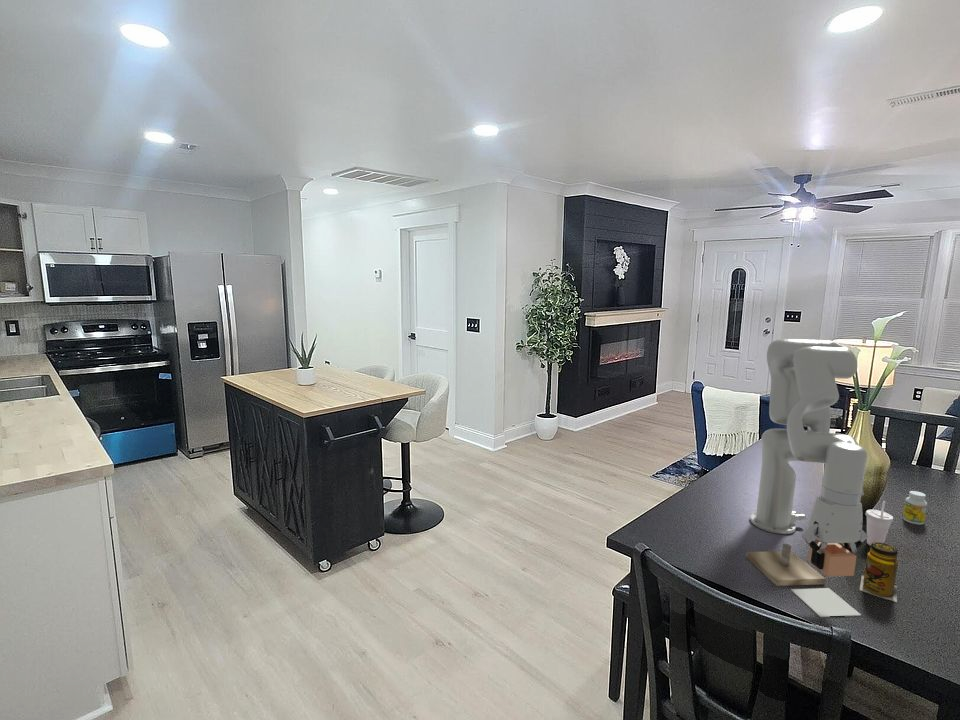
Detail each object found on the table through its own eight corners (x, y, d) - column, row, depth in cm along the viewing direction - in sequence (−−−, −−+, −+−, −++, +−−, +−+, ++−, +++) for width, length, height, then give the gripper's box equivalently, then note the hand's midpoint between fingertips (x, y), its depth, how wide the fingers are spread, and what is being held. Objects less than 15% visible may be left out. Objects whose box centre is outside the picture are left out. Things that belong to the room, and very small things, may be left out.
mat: (828, 589, 126) (828, 588, 126) (861, 615, 116) (861, 614, 116) (791, 590, 126) (791, 589, 126) (820, 617, 116) (820, 616, 116)
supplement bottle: (927, 523, 160) (932, 495, 159) (917, 526, 159) (922, 498, 157) (909, 515, 165) (913, 488, 164) (898, 518, 164) (902, 491, 162)
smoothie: (881, 552, 143) (889, 507, 141) (856, 541, 149) (863, 498, 146) (892, 547, 146) (900, 502, 144) (868, 536, 152) (874, 494, 149)
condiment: (859, 590, 126) (866, 547, 124) (861, 575, 132) (868, 534, 130) (896, 603, 121) (904, 558, 119) (897, 587, 128) (904, 544, 125)
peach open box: (832, 560, 122) (835, 541, 122) (853, 575, 116) (856, 556, 115) (808, 561, 122) (810, 542, 121) (827, 576, 116) (830, 556, 115)
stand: (790, 555, 141) (793, 532, 140) (824, 584, 128) (828, 558, 127) (746, 557, 140) (749, 533, 139) (776, 585, 127) (779, 560, 126)
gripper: (862, 487, 120) (852, 556, 123) (794, 489, 119) (785, 557, 122) (889, 501, 113) (878, 573, 116) (817, 503, 112) (807, 576, 115)
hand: (830, 565), depth 119 cm, fingers closed on peach open box, 6 cm apart
